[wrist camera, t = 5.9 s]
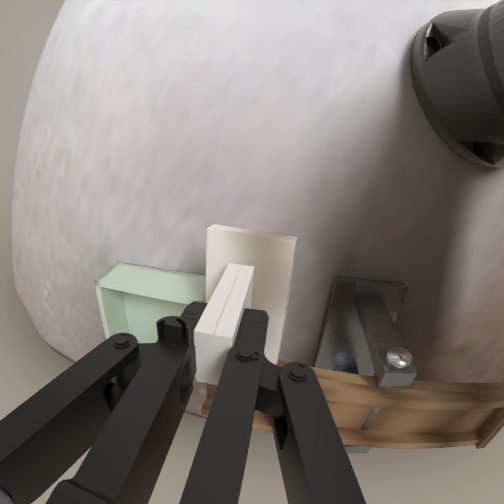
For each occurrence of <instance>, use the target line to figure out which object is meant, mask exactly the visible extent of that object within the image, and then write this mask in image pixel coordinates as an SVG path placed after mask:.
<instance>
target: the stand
mask: <svg viewBox="0 0 504 504" xmlns="http://www.w3.org/2000/svg"><path fill="white" fill-rule="evenodd" d="M405 292H406V286H405V285H404V284H399V283H390V282H381V281H372V280H363V279H355V278H346V277H337V276H336V277H335V281H334V286H333V291H332V295H331V300H330V304H329V308H328V312H327V316H326V321H325V325H324V329H323V333H322V336H321V340H320V344H319V348H318V352H317V355H316V359H315V362H314V366H313V367H315V368H320V369H326V370H332V371H339V372H345V373H352V374H359V375H367V376H373V375H374V373H375V374H376V378H377V382H378V386H379V387H397V386H410V385H411V384H412V382H413V380H414V378H415V376H416V374H417V372H416V370H415V367H414V365H413V363H412V355H411V353H410V352H409V351H408V350H407V349H406V347H405V344H404V342H403V340H402V338H401V336H400V333H399V331H398V329H397V327H396V325H395V321H396V318H397V316H398V313H399V310H400V307H401V304H402V301H403V298H404V295H405ZM344 447H345V450H346V452H347V453H350V454H353V453H367V452H368V451H369V449H370V448H371V447H363V446H352V445H344Z"/></svg>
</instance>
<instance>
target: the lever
mask: <svg viewBox="0 0 504 504" xmlns="http://www.w3.org/2000/svg"><path fill="white" fill-rule="evenodd" d="M297 239H298V237H292V236H286V235H280V234H274V233H268V232H261V231H255V230H249V229H242V228H236V227H229V226H222V225H216V224H213V225H212V226H210V227H209V228H207V247H206V303H208V302H209V300H210V298H211V297H212V295H213V293H214V291H215V289H216V287H217V285H218V283H219V281H220V279H221V277H222V275H223V273H224V271H225V270H226V268H227V266H228V264H229V263H232V264H240V265H248V266H255V267H254V279H253V290H252V300H251V309H257V310H264V311H266V313H267V314H268V316H269V321H268V328H267V336H266V343H265V349H264V354H265V357H266V358H267V359H268V360H269V361H270V362H271V363H273V364H275V365H278V366H280V367H282V366H284V365H285V364H287V363H289V362H284V361H279V360H278V359H279V353H280V348H281V342H282V336H283V331H284V325H285V319H286V313H287V306H288V300H289V294H290V287H291V281H292V274H293V267H294V260H295V253H296V246H297ZM311 368H312V369H313V370H314V372H315V374H316V376H317V379H318V381H319V384H320V386H321V389H322V391H323V394H324V396H325V399H326V401H327V404H328V406H329V409H330V411H331V414H332V416H333V419H334V422H335V424H336V427H337V429H338V432H339V434H340V437H341V439H342V442H343V445H352V446H363V447H378V448H379V447H380V448H444V447H458V446H468V445H476V448H477V449H478V448H484V447H485V446H486V445H487V444H488V443H489V442H490V441H491V440H492V439H493V437H494V436H495V435H496V434H497V433H498V432H499V431H500V430H501V428H502V427H503V426H504V383H446V382H428V381H414V380H413V382H412V384H411V385H410V386H397V387H379V386H378V382H377V378H376V377H375V376H367V375H359V374H352V373H345V372H339V371H332V370H326V369H320V368H315V367H311ZM216 388H217V385H213V384H208V383H207V399H206V401H205V403H204V404H203V406H202V414H205V415H208V413H209V410H210V407H211V404H212V401H213V398H214V395H215V391H216ZM252 428H254V429H258V430H262V431H267V432H272V433H273V429H272V424H271V419H270V416H269V415H266V414H264V413H261V412H259V411H257V410H255V414H254V420H253V425H252Z"/></svg>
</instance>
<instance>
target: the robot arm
mask: <svg viewBox="0 0 504 504" xmlns="http://www.w3.org/2000/svg"><path fill="white" fill-rule="evenodd" d="M411 72H412V78H413V83H414V87H415V90H416V94H417V97H418V99H419V102H420V104H421V107H422V109H423V111H424V113H425V115H426V117H427V118H428V120H429V122H430V123H431V125H432V126H433V128H434V130H435V131H436V132H437V134H438V135H439V136H440V137H441V139H442V140H443V141H444V142H445V143H446V144H447V145H448V146H449V147H450V148H451V149H452V150H454V151H455V152H456V153H457V154H459V155H460V156H462V157H463V158H465V159H467V160H469V161H471V162H473V163H476V164H480V165H485V166H490V167H504V0H501V1H499V2H497V3H496V4H494V5H492V6H491V7H489V8H487V9H471V10H456V11H448V12H444V13H442V14H439V15H437V16H436V17H434V18H433V19H432V20H430V21H429V22H428V23H427V24H425V25H424V26H423V27H422V28H421V29H420V31H419V32H418V34H417V35H416V38H415V40H414V43H413V46H412V52H411ZM254 267H255V266H248V265H240V264H232V263H229V264H228V266H227V268H226V270H225V271H224V273H223V275H222V277H221V279H220V281H219V283H218V285H217V287H216V289H215V291H214V293H213V295H212V297H211V298H210V300H209V302H208V303H204V302H198V301H193V302H192V303H190V304H189V305H187V306H186V308H185V309H184V311H183V313H182V314H181V316H180V317H179V316H167V317H163V318H161V319H159V320H158V321H157V322H156V326H157V334H158V340H157V342H155V343H138V340H137V338H136V337H135V336H134V335H132V334H129V333H117V334H114V335H112V336H111V337H109V338H108V339H106V340H105V341H104V342H102V343H101V344H100V345H98V346H97V347H96V348H94V349H93V350H92V351H90V352H89V353H88V354H86V355H85V356H84V357H82V358H81V359H80V360H78V361H77V362H76V363H75V364H73V365H72V366H71V367H69V368H68V369H67V370H65V371H64V372H63V373H61V374H60V375H59V376H57V377H56V378H55V379H54V380H52V381H51V382H50V383H48V384H47V385H46V386H44V387H43V388H42V389H40V390H39V391H38V392H37V393H35V394H34V395H33V396H32V397H30V398H29V399H28V400H26V401H25V402H24V403H22V404H21V405H20V406H19V407H17V408H16V409H15V410H13V411H12V412H11V413H10V414H8V415H7V416H6V417H5V418H3V419H2V420H1V421H0V504H31V503H32V502H34V501H35V500H36V499H37V498H38V497H40V496H41V495H42V494H43V493H44V492H45V491H46V490H47V489H48V488H49V487H50V486H51V485H52V484H53V483H55V482H56V481H57V480H58V479H59V478H60V477H61V476H62V475H63V474H64V473H65V472H66V471H67V470H68V469H69V468H70V467H71V466H72V465H73V464H74V463H75V462H76V461H77V460H78V459H79V458H80V457H81V456H82V455H83V454H84V453H85V452H86V451H87V450H88V449H89V448H90V447H91V446H92V447H91V449H90V450H89V452H88V454H87V456H86V457H85V459H84V461H83V462H82V464H81V466H80V468H79V470H78V471H77V473H76V475H75V476H74V477H73V478H72V479H68V480H62V481H61V482H59V483H58V484H57V486H56V487H55V488H54V490H53V492H52V493H51V495H50V497H49V499H48V501H47V502H46V504H148V502H149V499H150V497H151V494H152V492H153V489H154V487H155V484H156V482H157V479H158V477H159V474H160V471H161V469H162V466H163V464H164V461H165V459H166V456H167V453H168V451H169V449H170V446H171V444H172V441H173V438H174V436H175V433H176V430H177V428H178V426H179V423H180V421H181V418H182V416H183V413H184V411H185V408H186V406H187V403H188V401H189V398H190V395H191V393H192V390H193V379H194V376H195V374H196V381H198V382H203V383H208V384H213V385H217V388H216V391H215V395H214V398H213V401H212V404H211V407H210V410H209V413H208V417H207V420H206V423H205V426H204V429H203V432H202V436H201V439H200V442H199V445H198V448H197V451H196V454H195V457H194V460H193V464H192V466H191V469H190V473H189V476H188V479H187V482H186V485H185V488H184V491H183V494H182V497H181V500H180V503H179V504H238V501H239V496H240V491H241V486H242V480H243V475H244V469H245V464H246V459H247V454H248V448H249V442H250V437H251V431H252V425H253V420H254V414H255V410H257V411H259V412H261V413H264V414H266V415H269V416H270V419H271V424H272V429H273V433H274V439H275V443H276V448H277V453H278V458H279V462H280V467H281V472H282V477H283V481H284V486H285V490H286V495H287V499H288V504H366V502H365V500H364V497H363V494H362V492H361V489H360V487H359V484H358V481H357V478H356V476H355V473H354V471H353V468H352V466H351V463H350V460H349V458H348V455H347V452H346V450H345V447H344V445H343V442H342V439H341V437H340V434H339V432H338V429H337V427H336V424H335V422H334V419H333V416H332V414H331V411H330V409H329V406H328V404H327V401H326V399H325V396H324V394H323V391H322V389H321V386H320V384H319V381H318V379H317V376H316V374H315V372H314V370H313V369H312V368H311V367H309V366H308V365H306V364H303V363H298V362H292V363H287V364H285V365H284V366H282V367H280V366H278V365H275V364H273V363H271V362H270V361H269V360H268V359H267V358H266V357H265V354H264V349H265V343H266V336H267V328H268V321H269V316H268V314H267V313H266V311H264V310H257V309H251V300H252V290H253V279H254ZM114 377H115V378H114ZM113 378H114V379H113ZM112 379H113V380H112Z"/></svg>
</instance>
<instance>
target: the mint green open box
mask: <svg viewBox="0 0 504 504" xmlns="http://www.w3.org/2000/svg"><path fill="white" fill-rule="evenodd" d="M95 286H96V292H97V298H98V303H99V308H100V313H101V318H102V322H103V327H104V331H105V336H106V339H108V338H109V337H111V336H112V335H114V334H117V333H129V334H132V335H134V336H135V337H136V338H137V340H138V343H155V342H157V340H158V334H157V326H156V322H157V321H158V320H159V319H161V318H163V317H167V316H179V317H180V316H181V314H182V313H183V311H184V309H185V308H186V306H187V305H189V304H190V303H192V302H193V301H198V302H204V303H206V275H199V274H193V273H186V272H179V271H173V270H166V269H160V268H154V267H147V266H141V265H135V264H129V263H123V262H117V263H116V264H114V265H113V266H112V267H110V268H109V269H108V270H106V271H105V272H104V273H103V274H101V275H100V276H99V277H97V278H96V279H95ZM194 377H195V378H196V374H195V376H194Z"/></svg>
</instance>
